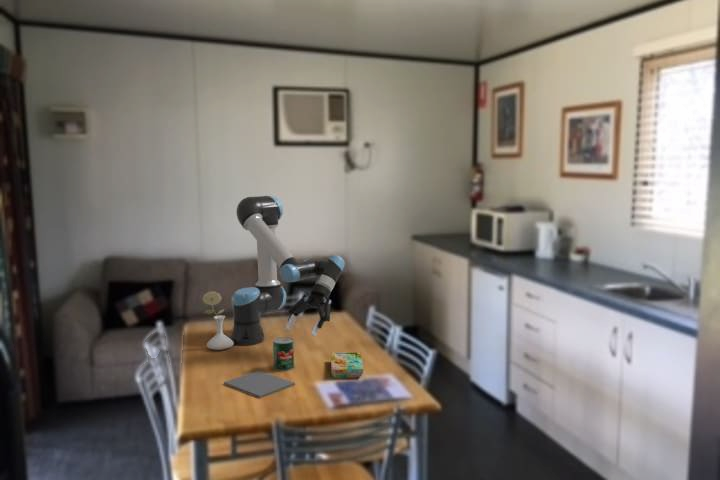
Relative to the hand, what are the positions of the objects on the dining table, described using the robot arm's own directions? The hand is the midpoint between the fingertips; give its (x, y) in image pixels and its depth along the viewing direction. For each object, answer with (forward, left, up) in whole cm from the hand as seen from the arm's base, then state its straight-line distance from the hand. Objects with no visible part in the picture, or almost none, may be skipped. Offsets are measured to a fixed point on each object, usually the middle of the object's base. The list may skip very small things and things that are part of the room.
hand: (299, 332), depth 231 cm
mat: (+7, -26, -12) cm, 30 cm away
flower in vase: (-41, -9, -13) cm, 44 cm away
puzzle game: (+20, +6, -13) cm, 24 cm away
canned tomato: (0, -8, -13) cm, 15 cm away
